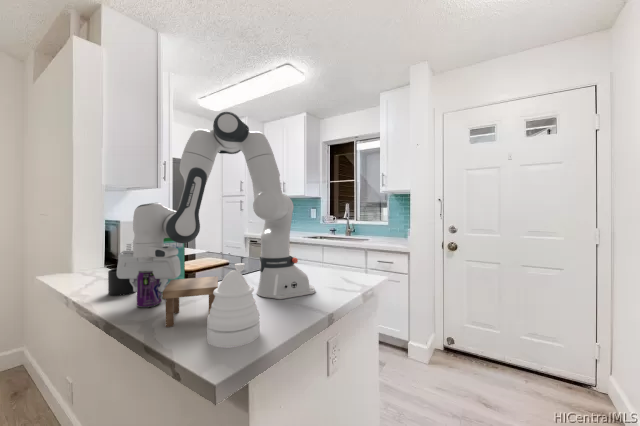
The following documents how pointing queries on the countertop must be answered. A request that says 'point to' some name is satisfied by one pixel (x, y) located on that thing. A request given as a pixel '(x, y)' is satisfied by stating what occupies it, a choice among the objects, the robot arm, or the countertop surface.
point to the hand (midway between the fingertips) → (148, 291)
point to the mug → (118, 284)
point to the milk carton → (180, 255)
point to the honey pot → (233, 312)
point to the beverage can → (147, 289)
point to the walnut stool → (187, 293)
